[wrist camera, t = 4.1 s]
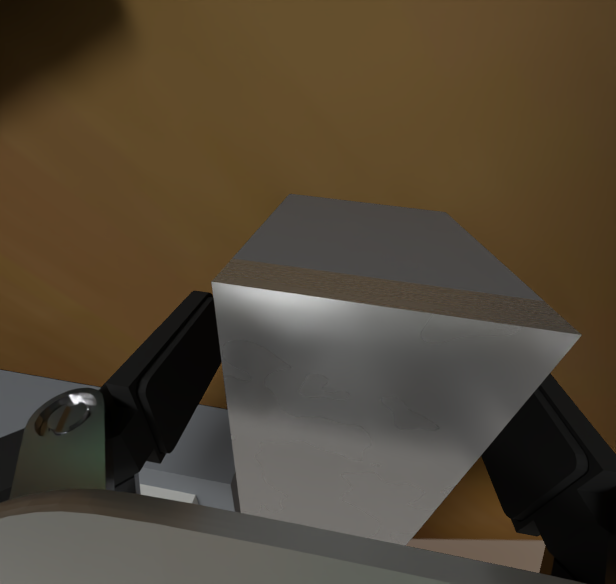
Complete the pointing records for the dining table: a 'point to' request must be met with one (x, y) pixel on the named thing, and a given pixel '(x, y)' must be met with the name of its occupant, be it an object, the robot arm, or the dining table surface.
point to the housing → (371, 362)
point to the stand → (153, 476)
